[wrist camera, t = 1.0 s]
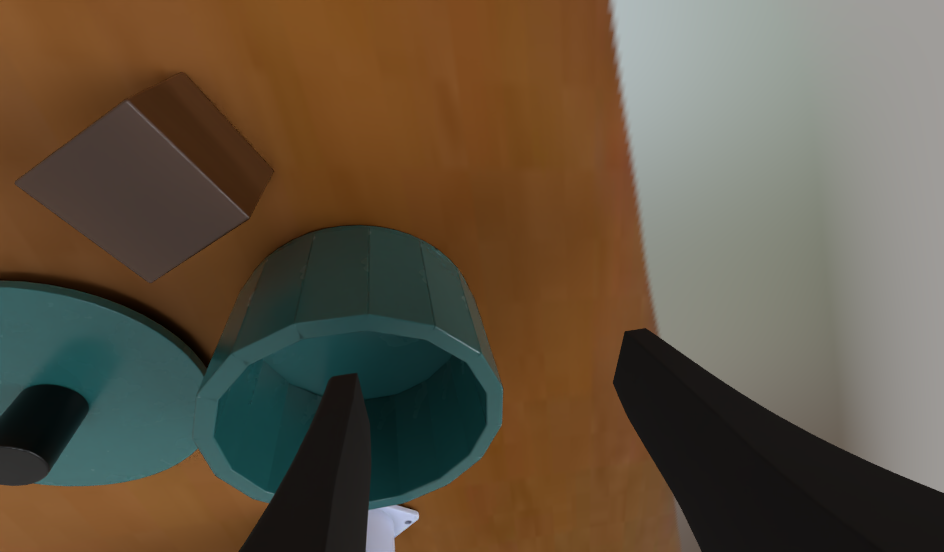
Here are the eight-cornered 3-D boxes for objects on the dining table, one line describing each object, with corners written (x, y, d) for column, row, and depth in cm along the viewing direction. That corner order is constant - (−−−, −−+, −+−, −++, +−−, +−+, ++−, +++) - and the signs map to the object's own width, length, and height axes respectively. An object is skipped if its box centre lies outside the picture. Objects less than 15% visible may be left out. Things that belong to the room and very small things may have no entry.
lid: (152, 490, 26) (117, 569, 22) (-161, 417, 19) (-278, 513, 16) (270, 357, 22) (251, 428, 19) (-70, 210, 16) (-198, 276, 12)
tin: (383, 425, 27) (386, 533, 21) (192, 348, 21) (132, 470, 16) (516, 305, 23) (558, 398, 18) (331, 173, 18) (314, 254, 12)
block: (192, 225, 18) (149, 284, 14) (92, 137, 15) (11, 183, 12) (274, 171, 17) (250, 218, 14) (183, 70, 15) (126, 98, 11)
